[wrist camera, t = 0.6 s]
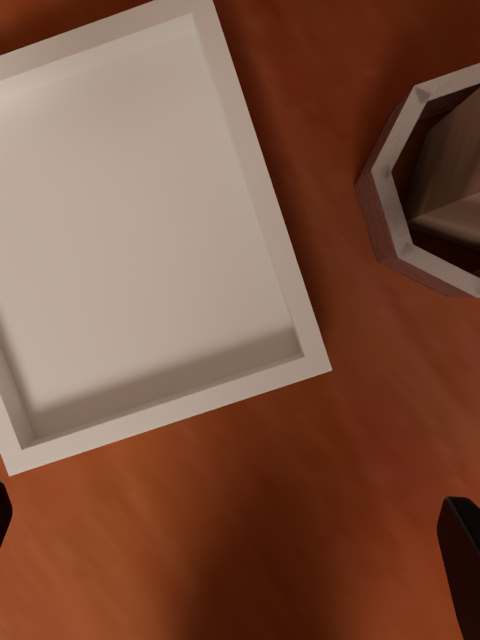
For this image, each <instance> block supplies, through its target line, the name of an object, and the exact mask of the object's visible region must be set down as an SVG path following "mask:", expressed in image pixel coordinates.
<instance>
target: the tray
mask: <svg viewBox="0 0 480 640" xmlns="http://www.w3.org/2000/svg"><path fill="white" fill-rule="evenodd" d="M329 371H332V368H331V365H330V362H329V358H328V355H327V352H326V349H325V346H324V343H323V340H322V337H321V334H320V331H319V328H318V324H317V321H316V318H315V315H314V312H313V309H312V306H311V303H310V300H309V297H308V294H307V290H306V287H305V284H304V281H303V278H302V275H301V272H300V269H299V266H298V263H297V259H296V256H295V253H294V250H293V247H292V244H291V241H290V238H289V235H288V232H287V229H286V225H285V222H284V219H283V216H282V213H281V210H280V207H279V204H278V201H277V198H276V195H275V191H274V188H273V185H272V182H271V179H270V176H269V173H268V170H267V167H266V164H265V161H264V157H263V154H262V151H261V148H260V145H259V142H258V139H257V136H256V133H255V130H254V127H253V123H252V120H251V117H250V114H249V111H248V108H247V105H246V102H245V99H244V96H243V93H242V89H241V86H240V83H239V80H238V77H237V74H236V71H235V68H234V65H233V62H232V58H231V55H230V52H229V49H228V46H227V43H226V40H225V37H224V34H223V31H222V28H221V24H220V21H219V18H218V15H217V12H216V9H215V6H214V3H213V0H154V1H151V2H148V3H146V4H143V5H140V6H137V7H135V8H132V9H129V10H126V11H123V12H121V13H118V14H115V15H112V16H109V17H107V18H104V19H101V20H98V21H95V22H93V23H90V24H87V25H84V26H82V27H79V28H76V29H73V30H70V31H68V32H65V33H62V34H59V35H56V36H54V37H51V38H48V39H45V40H42V41H40V42H37V43H34V44H31V45H29V46H26V47H23V48H20V49H17V50H15V51H12V52H9V53H6V54H3V55H1V56H0V454H1V456H2V459H3V461H4V464H5V467H6V469H7V472H8V475H9V476H12V475H15V474H18V473H21V472H24V471H27V470H30V469H33V468H36V467H39V466H42V465H45V464H48V463H51V462H54V461H57V460H60V459H63V458H67V457H70V456H73V455H76V454H79V453H82V452H85V451H88V450H91V449H94V448H97V447H100V446H103V445H106V444H109V443H112V442H115V441H118V440H121V439H125V438H128V437H131V436H134V435H137V434H140V433H143V432H146V431H149V430H152V429H155V428H158V427H161V426H164V425H167V424H170V423H173V422H176V421H180V420H183V419H186V418H189V417H192V416H195V415H198V414H201V413H204V412H207V411H210V410H213V409H216V408H219V407H222V406H225V405H228V404H231V403H234V402H238V401H241V400H244V399H247V398H250V397H253V396H256V395H259V394H262V393H265V392H268V391H271V390H274V389H277V388H280V387H283V386H286V385H289V384H293V383H296V382H299V381H302V380H305V379H308V378H311V377H314V376H317V375H320V374H323V373H326V372H329Z"/></svg>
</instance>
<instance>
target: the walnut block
mask: <svg viewBox="0 0 480 640" xmlns="http://www.w3.org/2000/svg"><path fill="white" fill-rule="evenodd" d="M402 210H403V213H404V216H405V220H406V223H407V226H408V229H410V230H413V231H416V232H420V233H423V234H426V235H429V236H433V237H436V238H439V239H442V240H446V241H449V242H452V243H455V244H458V245H462V246H465V247H468V248H471V249H475V250H478V251H480V88H479V89H477V90H476V91H475V92H474V93H473V94H472V95H470V96H469V97H468V98H467V99H466V100H464V101H463V102H462V103H461V104H460V105H458V106H457V107H456V108H455V109H454V110H453V111H451V112H450V113H449V114H448V115H447V116H445V117H444V118H443V119H442V120H441V121H439V122H438V123H437V124H436V125H435V126H434V127H432V128H431V129H430V130H429V131H428V132H427V134H426V137H425V140H424V143H423V146H422V149H421V152H420V155H419V158H418V161H417V164H416V167H415V170H414V174H413V177H412V180H411V183H410V186H409V189H408V192H407V195H406V198H405V201H404V204H403V207H402Z"/></svg>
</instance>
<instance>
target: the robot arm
mask: <svg viewBox="0 0 480 640" xmlns="http://www.w3.org/2000/svg"><path fill="white" fill-rule="evenodd" d="M12 512H13V511H12V505H11V502H10V499H9V496H8V493H7V491H6V488H5V485H4V483H3V482H2V481H0V547H1V545H2V542H3V539H4V537H5V534H6V532H7V529H8V526H9V524H10V521H11V518H12ZM437 536H438V541H439V545H440V549H441V554H442V558H443V562H444V566H445V571H446V575H447V579H448V583H449V587H450V592H451V596H452V600H453V604H454V608H455V612H456V616H457V620H458V623H459V626H460V629H461V633H462V636H463V638H464V640H480V508H479V507H478V506H477V505H476V504H474V503H473V502H472V501H471V500H470V499H468V498H466V497H446V498H445V499H444V501H443V504H442V508H441V512H440V515H439V519H438V523H437Z"/></svg>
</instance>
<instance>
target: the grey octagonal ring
mask: <svg viewBox="0 0 480 640" xmlns="http://www.w3.org/2000/svg"><path fill="white" fill-rule="evenodd" d="M479 88H480V63H478V64H475V65H472V66H469V67H467V68H464V69H461V70H458V71H455V72H452V73H449V74H446V75H443V76H440V77H438V78H435V79H432V80H429V81H426V82H423V83H420V84H417V85H414V86H413V87H412V89H411V90H410V91H409V92H408V93H407V94H406V96H405V97H404V98H403V99H402V100H401V102H400V103H399V104H398V105H397V106H396V107H395V109H394V110H393V111H392V112H391V114H390V116H389V118H388V120H387V122H386V124H385V126H384V128H383V130H382V132H381V134H380V136H379V138H378V140H377V142H376V144H375V146H374V148H373V150H372V152H371V154H370V155H369V157H368V159H367V161H366V163H365V165H364V167H363V169H362V171H361V173H360V175H359V177H358V179H357V181H356V183H355V185H354V187H355V190H356V194H357V197H358V200H359V203H360V207H361V210H362V213H363V216H364V219H365V223H366V226H367V229H368V232H369V236H370V239H371V242H372V245H373V248H374V252H375V255H376V258H377V261H378V262H380V263H382V264H384V265H386V266H388V267H390V268H392V269H394V270H396V271H397V272H399V273H401V274H403V275H405V276H407V277H409V278H411V279H413V280H415V281H417V282H419V283H421V284H423V285H425V286H427V287H429V288H431V289H433V290H435V291H437V292H439V293H441V294H443V295H445V296H448V297H469V298H478V297H480V269H478V270H475V271H472V272H469V273H468V272H466V271H464V270H462V269H460V268H458V267H456V266H454V265H452V264H450V263H448V262H446V261H444V260H442V259H440V258H439V257H437V256H435V255H433V254H431V253H429V252H427V251H425V250H423V249H421V248H419V247H417V246H415V245H413V243H412V239H411V236H410V233H409V230H408V226H407V223H406V220H405V216H404V213H403V210H402V207H401V203H400V200H399V197H398V193H397V190H396V187H395V184H394V180H393V177H392V174H391V171H392V169H393V167H394V165H395V163H396V161H397V159H398V157H399V155H400V153H401V151H402V149H403V147H404V145H405V143H406V141H407V139H408V137H409V136H410V134H411V132H412V130H413V128H414V126H415V124H416V122H417V121H419V120H422V119H425V118H428V117H431V116H434V115H436V114H439V113H442V112H445V111H448V110H451V109H454V108H456V107H457V106H458V105H460V104H461V103H462V102H463V101H464V100H466V99H467V98H468V97H469V96H470V95H472V94H473V93H474V92H475V91H476V90H477V89H479Z"/></svg>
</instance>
